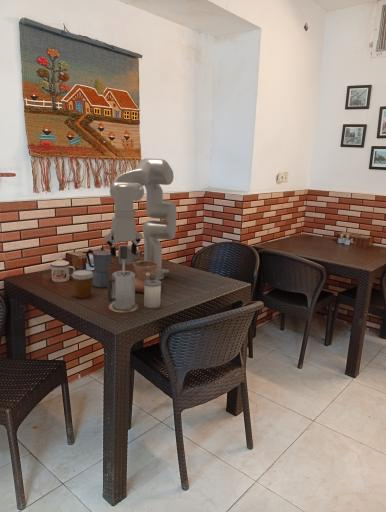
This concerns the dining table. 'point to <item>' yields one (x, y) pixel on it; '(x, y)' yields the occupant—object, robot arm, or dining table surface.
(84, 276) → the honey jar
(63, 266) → the teacup with lid
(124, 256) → the plunger
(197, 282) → the dining table surface
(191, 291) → the dining table surface
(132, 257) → the coffee mug
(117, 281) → the steel press
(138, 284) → the ceramic jug
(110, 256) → the moka pot
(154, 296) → the cream press
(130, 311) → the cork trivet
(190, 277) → the dining table surface
